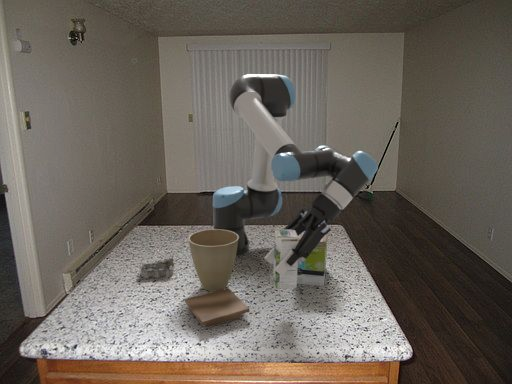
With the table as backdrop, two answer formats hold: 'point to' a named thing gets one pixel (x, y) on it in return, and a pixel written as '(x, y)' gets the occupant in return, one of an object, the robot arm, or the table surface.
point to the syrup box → (281, 248)
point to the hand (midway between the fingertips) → (272, 266)
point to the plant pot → (213, 256)
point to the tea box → (313, 265)
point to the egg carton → (152, 268)
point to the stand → (216, 307)
